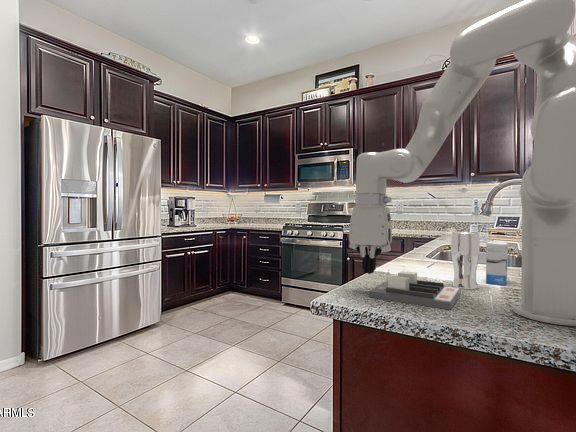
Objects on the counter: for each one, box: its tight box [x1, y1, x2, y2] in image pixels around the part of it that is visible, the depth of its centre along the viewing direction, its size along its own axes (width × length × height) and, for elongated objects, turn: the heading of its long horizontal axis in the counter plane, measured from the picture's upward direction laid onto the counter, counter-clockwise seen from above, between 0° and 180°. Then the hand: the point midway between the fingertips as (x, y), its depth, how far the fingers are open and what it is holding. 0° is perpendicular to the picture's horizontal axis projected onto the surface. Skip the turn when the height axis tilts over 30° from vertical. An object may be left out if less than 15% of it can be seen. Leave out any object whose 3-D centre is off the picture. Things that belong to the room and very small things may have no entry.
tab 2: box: [397, 270, 418, 284], centre depth 85 cm, size 4×4×3 cm
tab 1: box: [387, 275, 409, 290], centre depth 78 cm, size 4×4×3 cm
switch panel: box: [368, 279, 462, 311], centre depth 80 cm, size 18×16×2 cm
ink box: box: [485, 240, 509, 286], centre depth 94 cm, size 8×5×12 cm, turn 143°
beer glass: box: [450, 231, 481, 290], centre depth 88 cm, size 7×7×15 cm
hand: (368, 272), depth 82 cm, fingers closed
